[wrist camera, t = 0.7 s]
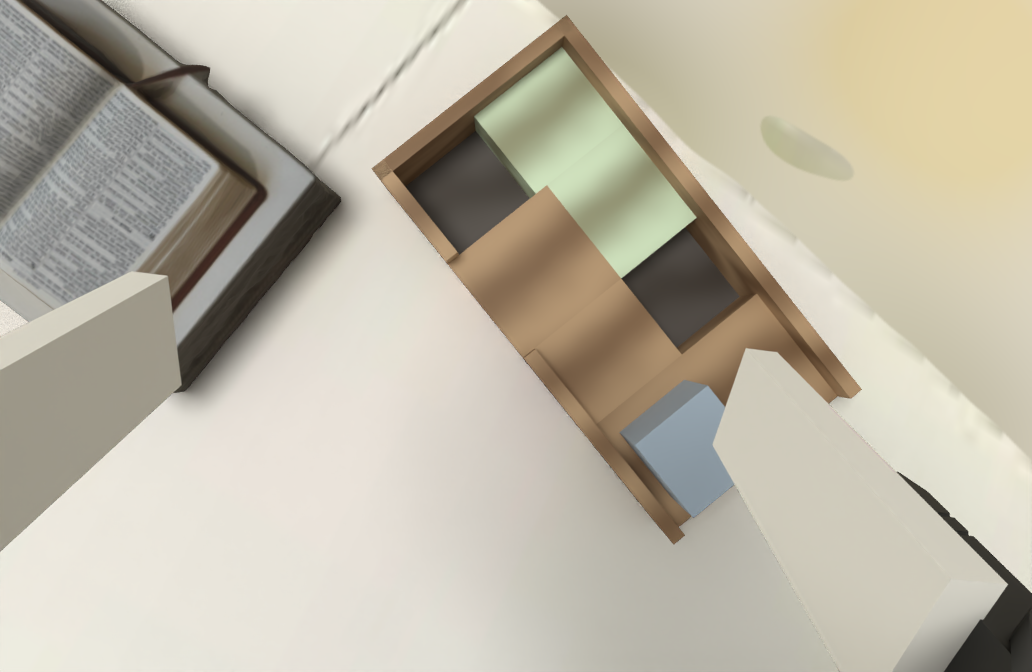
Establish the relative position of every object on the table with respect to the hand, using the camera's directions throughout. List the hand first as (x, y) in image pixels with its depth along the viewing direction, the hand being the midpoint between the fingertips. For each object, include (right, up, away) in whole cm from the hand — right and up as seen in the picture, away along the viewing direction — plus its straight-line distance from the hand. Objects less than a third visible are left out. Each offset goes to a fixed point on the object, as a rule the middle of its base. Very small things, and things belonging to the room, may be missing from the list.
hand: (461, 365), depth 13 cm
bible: (-27, +11, +29) cm, 41 cm away
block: (+13, -7, +27) cm, 31 cm away
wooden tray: (+8, +5, +30) cm, 31 cm away
